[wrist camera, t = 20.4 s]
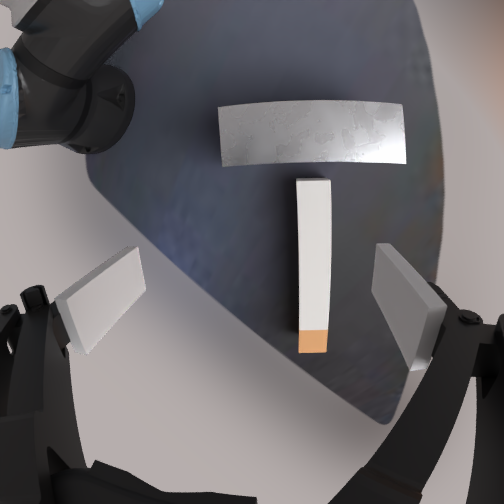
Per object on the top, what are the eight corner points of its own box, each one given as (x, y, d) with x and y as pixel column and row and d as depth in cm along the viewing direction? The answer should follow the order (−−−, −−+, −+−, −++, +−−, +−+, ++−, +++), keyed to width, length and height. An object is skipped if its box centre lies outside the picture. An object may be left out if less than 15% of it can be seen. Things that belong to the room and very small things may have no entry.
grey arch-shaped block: (375, 161, 35) (406, 163, 24) (242, 164, 38) (222, 166, 27) (372, 118, 33) (402, 104, 22) (239, 121, 36) (217, 107, 25)
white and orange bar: (323, 333, 44) (325, 352, 39) (298, 333, 45) (298, 352, 40) (325, 177, 37) (330, 180, 32) (296, 178, 37) (296, 181, 33)
